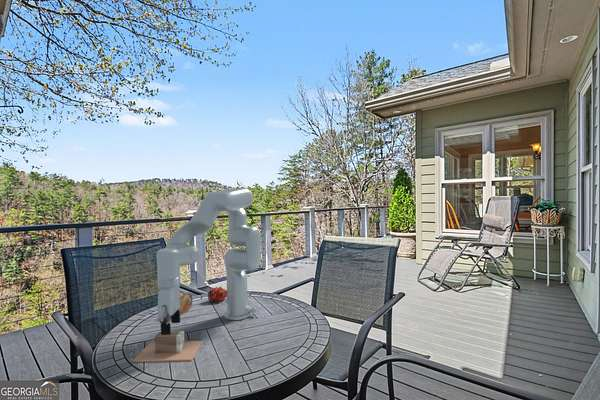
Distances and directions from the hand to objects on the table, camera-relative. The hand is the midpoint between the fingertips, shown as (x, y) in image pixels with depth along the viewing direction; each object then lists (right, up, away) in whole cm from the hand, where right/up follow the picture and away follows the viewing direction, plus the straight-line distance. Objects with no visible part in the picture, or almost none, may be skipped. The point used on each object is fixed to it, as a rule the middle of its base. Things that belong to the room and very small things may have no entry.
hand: (171, 328), depth 117 cm
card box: (0, -8, 0) cm, 8 cm away
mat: (0, -8, 0) cm, 8 cm away
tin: (-11, -8, +39) cm, 41 cm away
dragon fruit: (+3, -8, +56) cm, 56 cm away
